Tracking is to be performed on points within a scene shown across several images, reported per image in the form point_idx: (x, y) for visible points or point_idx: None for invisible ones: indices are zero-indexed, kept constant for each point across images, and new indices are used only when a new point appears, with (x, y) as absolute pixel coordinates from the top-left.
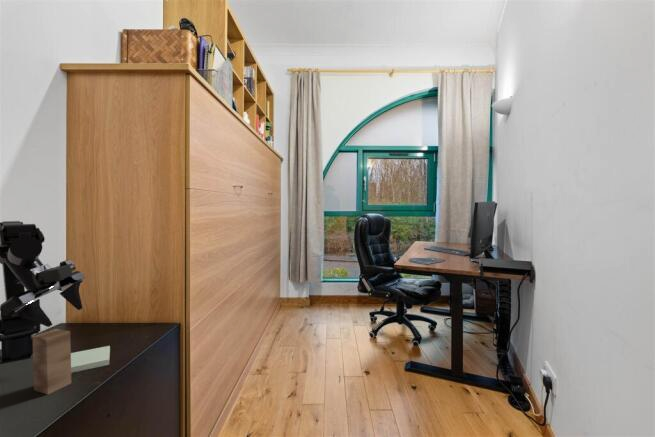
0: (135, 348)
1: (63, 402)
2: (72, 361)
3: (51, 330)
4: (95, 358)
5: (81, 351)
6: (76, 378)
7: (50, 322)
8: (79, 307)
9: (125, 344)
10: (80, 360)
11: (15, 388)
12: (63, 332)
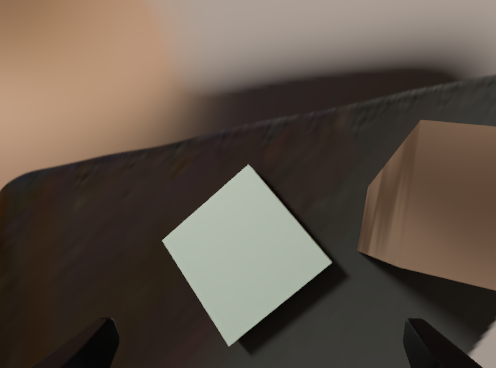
0: (151, 176)
1: (458, 121)
2: (277, 273)
3: (443, 272)
4: (248, 211)
5: (207, 307)
6: (336, 200)
7: (427, 333)
8: (104, 339)
9: (128, 228)
10: (267, 251)
11: None
12: (452, 146)
